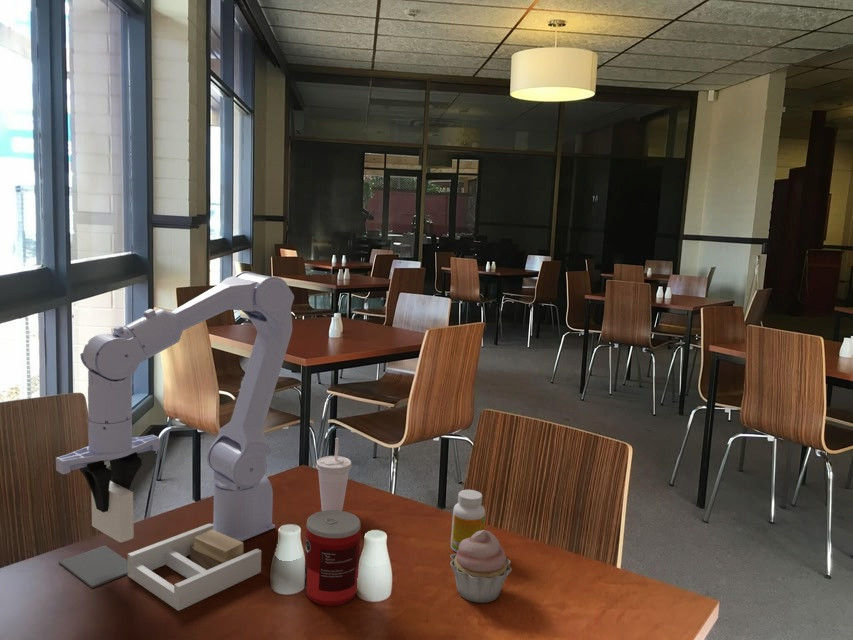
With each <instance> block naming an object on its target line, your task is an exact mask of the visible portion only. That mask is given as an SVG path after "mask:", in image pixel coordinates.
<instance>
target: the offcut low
mask: <svg viewBox="0 0 853 640" xmlns="http://www.w3.org/2000/svg"><path fill="white" fill-rule="evenodd" d="M189 556H190V557H189V558H190V559H189V560H191V561H192V562H194V563H196V564H197V565H199V566H201V567H202V568H204V569H206V570H209V569H211V568H213V567H216V566H218V565H220V564H222V562H220V561H217V560H215V559H213V558H211V557H209V556H206V555H204V554H202V553H200V552H198V551H195V550H194V545H193V546H190V555H189Z"/></svg>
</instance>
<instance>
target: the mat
mask: <svg viewBox="0 0 853 640" xmlns="http://www.w3.org/2000/svg"><path fill="white" fill-rule="evenodd" d="M58 563H59V564H60V566H62V567H64V568H65V569H66V570H68V571H69V572H70V573H72V574H73V575H74V576H75V577H77V578H78V579H80V580H81V581H82V582H83V583H85V584H86V585H87V586H89V587H90V588H91V589H93V588H96V587H98V586H102V585H104V584H106V583H108V582H112V581H115V580H116V579H118V578H121V577H124V576H126V575H127V576H128V559H126V558H125V557H124V556H122V555H120V554H119V553H117V552H115V551H114V550H113V549H111V548H109V547H108V546H107V545H102V546H99V547H96V548H92V549H90V550H88V551H85V552H82V553H79V554H75V555H73V556H70V557H68V558H65V559H61V560H59V561H58Z"/></svg>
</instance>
